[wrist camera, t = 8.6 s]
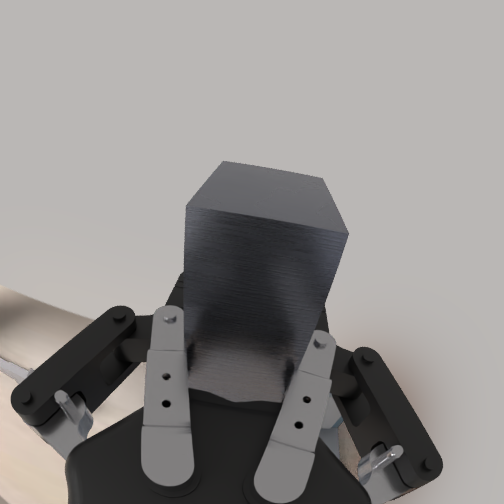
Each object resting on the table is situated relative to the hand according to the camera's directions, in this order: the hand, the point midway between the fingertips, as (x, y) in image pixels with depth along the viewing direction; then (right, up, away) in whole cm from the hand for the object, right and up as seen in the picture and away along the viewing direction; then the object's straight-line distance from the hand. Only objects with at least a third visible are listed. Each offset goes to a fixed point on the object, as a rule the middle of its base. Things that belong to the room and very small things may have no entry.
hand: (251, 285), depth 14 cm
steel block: (-2, -9, +2) cm, 10 cm away
